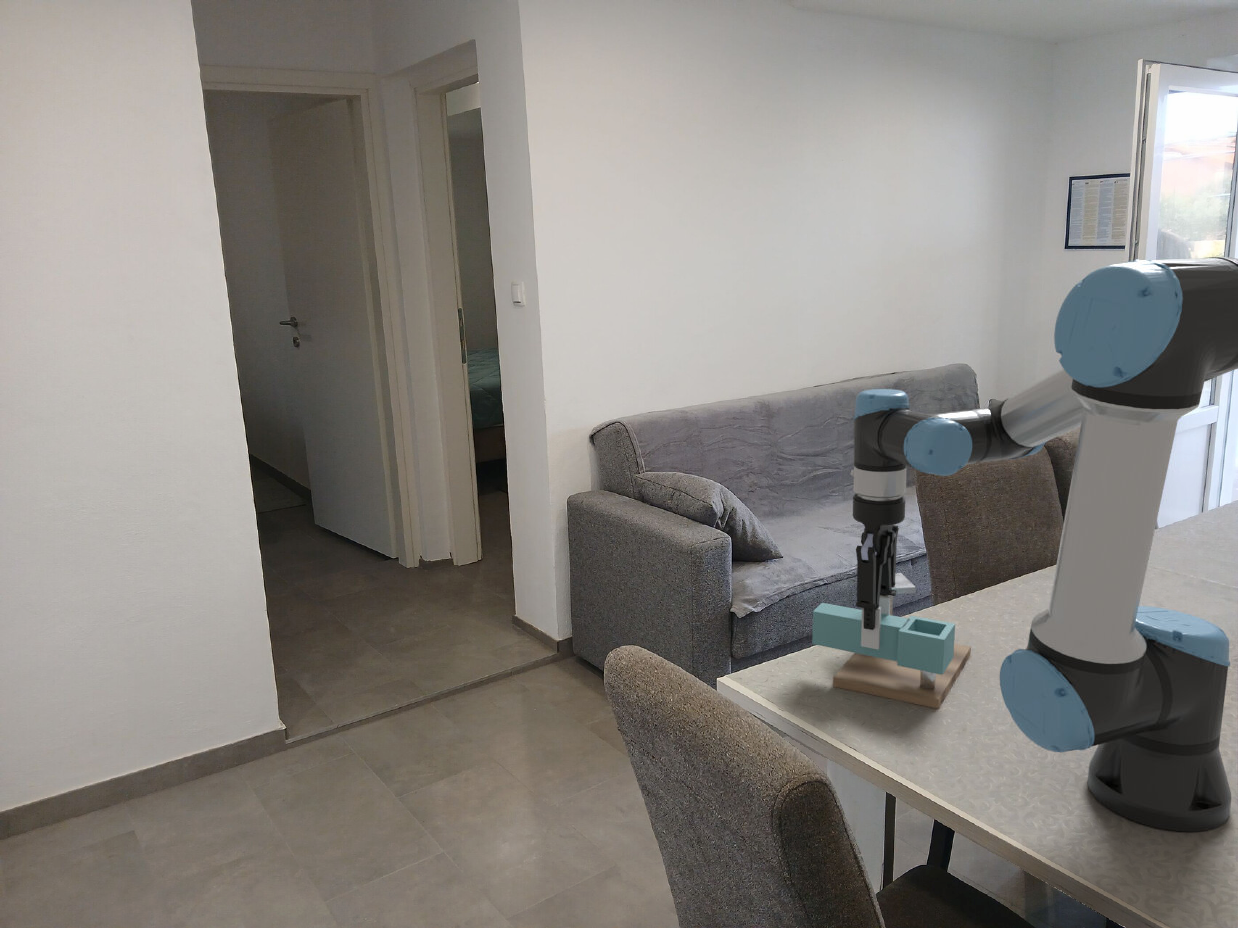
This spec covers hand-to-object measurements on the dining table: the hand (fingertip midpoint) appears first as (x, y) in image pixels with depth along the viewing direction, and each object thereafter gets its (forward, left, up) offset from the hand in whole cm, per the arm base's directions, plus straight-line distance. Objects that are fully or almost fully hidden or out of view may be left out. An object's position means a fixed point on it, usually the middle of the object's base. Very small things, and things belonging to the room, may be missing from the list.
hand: (875, 640), depth 147 cm
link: (0, -1, -2) cm, 2 cm away
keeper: (+14, +2, -7) cm, 16 cm away
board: (+7, -3, -7) cm, 10 cm away
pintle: (0, -8, -7) cm, 11 cm away
